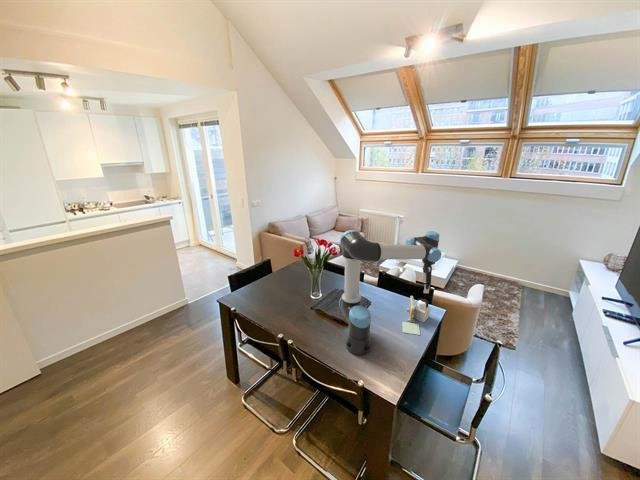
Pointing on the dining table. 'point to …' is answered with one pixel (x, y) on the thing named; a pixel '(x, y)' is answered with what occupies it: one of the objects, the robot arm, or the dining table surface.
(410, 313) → the screen
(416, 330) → the mat
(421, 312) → the container
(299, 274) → the dining table surface
